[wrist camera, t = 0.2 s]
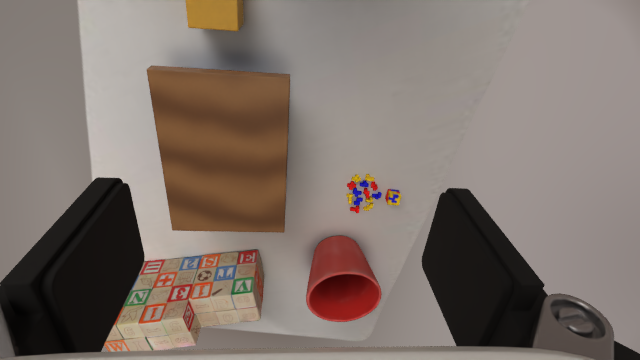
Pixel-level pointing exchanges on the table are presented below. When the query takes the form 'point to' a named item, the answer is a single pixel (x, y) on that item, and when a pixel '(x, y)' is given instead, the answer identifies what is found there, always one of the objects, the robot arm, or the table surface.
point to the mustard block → (215, 14)
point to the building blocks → (391, 196)
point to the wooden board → (222, 147)
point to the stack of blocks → (188, 300)
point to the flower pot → (341, 281)
